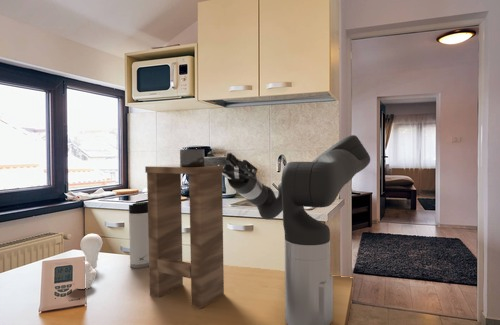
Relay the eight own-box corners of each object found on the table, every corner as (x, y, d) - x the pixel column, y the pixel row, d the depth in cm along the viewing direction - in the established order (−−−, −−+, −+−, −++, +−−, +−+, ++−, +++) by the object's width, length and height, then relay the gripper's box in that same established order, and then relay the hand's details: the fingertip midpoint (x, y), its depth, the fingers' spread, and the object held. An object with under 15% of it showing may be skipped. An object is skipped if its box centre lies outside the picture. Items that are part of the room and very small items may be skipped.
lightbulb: (107, 268, 106) (106, 232, 106) (89, 274, 101) (87, 237, 101) (95, 265, 109) (94, 230, 109) (76, 271, 104) (75, 234, 104)
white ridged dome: (99, 282, 95) (99, 257, 95) (92, 291, 89) (91, 264, 89) (76, 283, 94) (75, 258, 94) (66, 293, 88) (66, 265, 88)
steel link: (239, 163, 95) (239, 148, 95) (194, 167, 78) (194, 149, 78) (222, 163, 98) (222, 149, 98) (175, 167, 80) (174, 149, 80)
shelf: (224, 293, 87) (223, 165, 86) (200, 309, 78) (198, 167, 77) (175, 282, 95) (173, 164, 93) (148, 295, 86) (145, 166, 85)
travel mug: (146, 268, 105) (144, 203, 105) (126, 267, 107) (124, 202, 106) (155, 262, 112) (154, 200, 111) (136, 261, 113) (135, 199, 112)
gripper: (228, 171, 109) (199, 143, 96) (270, 172, 102) (245, 142, 89) (222, 193, 106) (191, 168, 93) (264, 195, 99) (238, 169, 86)
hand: (218, 155), depth 91 cm, fingers open, 5 cm apart
